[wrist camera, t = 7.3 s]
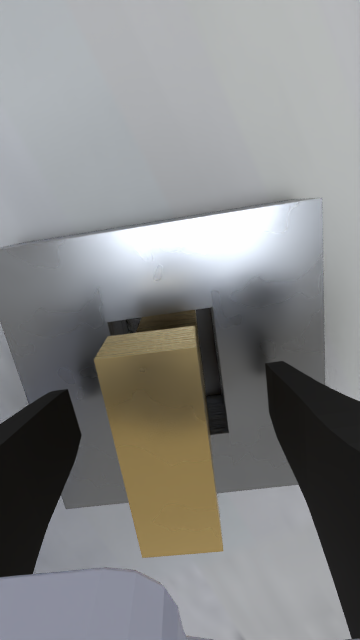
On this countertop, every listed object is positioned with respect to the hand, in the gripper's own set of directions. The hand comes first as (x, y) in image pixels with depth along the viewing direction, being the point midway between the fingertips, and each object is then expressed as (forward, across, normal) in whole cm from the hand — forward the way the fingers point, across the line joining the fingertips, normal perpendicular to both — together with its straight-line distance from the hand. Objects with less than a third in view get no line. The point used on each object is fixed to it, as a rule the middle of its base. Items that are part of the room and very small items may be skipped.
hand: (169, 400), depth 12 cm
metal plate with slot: (+4, 0, 0) cm, 4 cm away
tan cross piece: (+4, 0, 0) cm, 4 cm away
